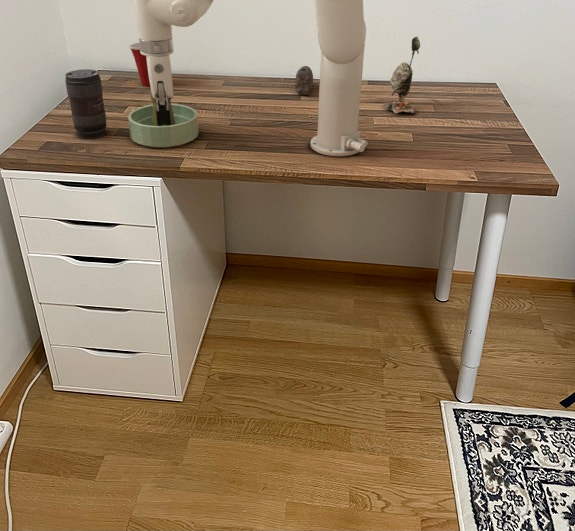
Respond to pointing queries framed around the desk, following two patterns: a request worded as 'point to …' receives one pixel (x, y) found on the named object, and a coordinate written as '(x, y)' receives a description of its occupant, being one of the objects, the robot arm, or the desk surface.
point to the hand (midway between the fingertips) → (163, 122)
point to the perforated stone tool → (304, 80)
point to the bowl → (163, 127)
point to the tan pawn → (156, 109)
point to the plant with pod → (403, 83)
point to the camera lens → (86, 102)
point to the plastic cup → (140, 64)
